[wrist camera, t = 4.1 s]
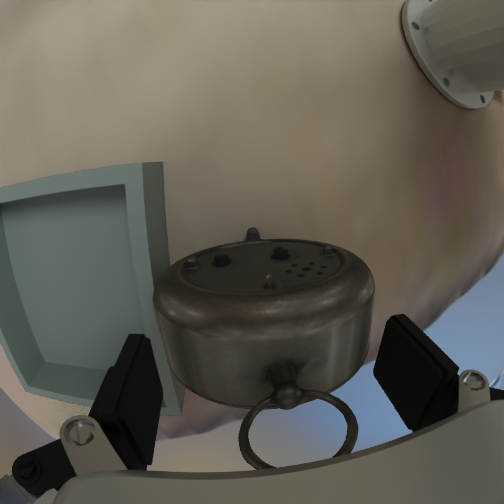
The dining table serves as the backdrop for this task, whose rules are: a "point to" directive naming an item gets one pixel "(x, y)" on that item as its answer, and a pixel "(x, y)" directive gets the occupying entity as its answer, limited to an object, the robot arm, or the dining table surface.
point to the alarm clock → (267, 326)
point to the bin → (82, 278)
